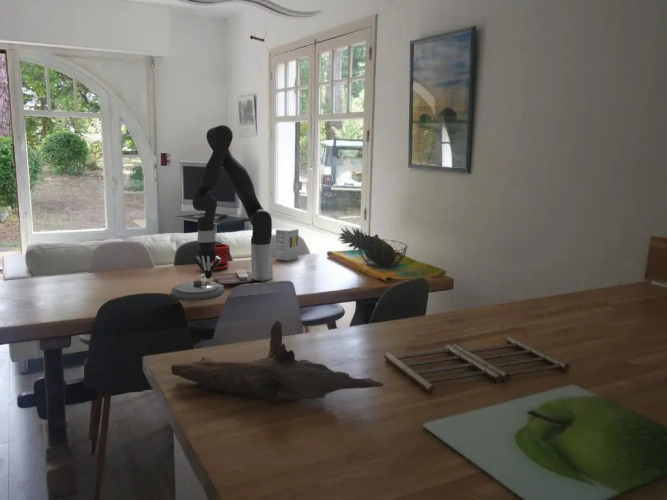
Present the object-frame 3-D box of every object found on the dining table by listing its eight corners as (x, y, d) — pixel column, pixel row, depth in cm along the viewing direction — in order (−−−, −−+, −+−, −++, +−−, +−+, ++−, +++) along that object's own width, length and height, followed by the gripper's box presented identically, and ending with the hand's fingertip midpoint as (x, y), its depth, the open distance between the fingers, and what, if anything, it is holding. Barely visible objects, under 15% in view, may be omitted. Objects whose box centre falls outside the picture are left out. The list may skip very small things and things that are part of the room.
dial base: (203, 283, 263) (203, 279, 263) (234, 292, 249) (233, 287, 249) (161, 293, 247) (161, 288, 247) (191, 302, 233) (191, 297, 232)
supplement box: (288, 261, 314) (288, 231, 310) (275, 259, 319) (275, 229, 315) (299, 258, 322) (298, 228, 318) (286, 256, 326) (285, 227, 323)
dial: (212, 294, 238) (212, 284, 238) (170, 293, 239) (169, 283, 239) (224, 282, 257) (224, 274, 257) (185, 281, 259) (184, 273, 258)
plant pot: (235, 267, 298) (234, 244, 296) (217, 272, 287) (216, 248, 285) (216, 264, 305) (216, 242, 303) (198, 268, 294) (198, 245, 292)
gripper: (224, 239, 254) (225, 276, 258) (196, 238, 257) (198, 275, 260) (217, 242, 247) (219, 281, 250) (189, 241, 250) (191, 279, 253)
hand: (208, 278), depth 255 cm, fingers closed
